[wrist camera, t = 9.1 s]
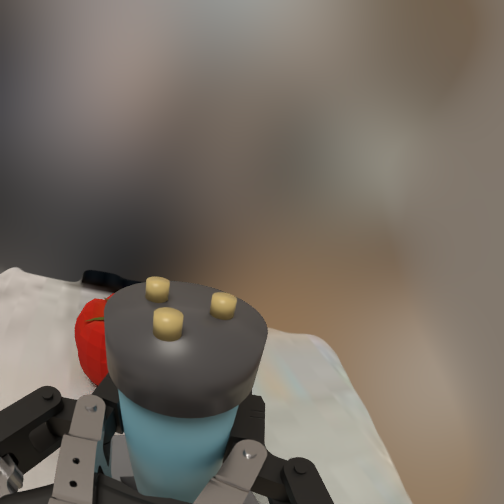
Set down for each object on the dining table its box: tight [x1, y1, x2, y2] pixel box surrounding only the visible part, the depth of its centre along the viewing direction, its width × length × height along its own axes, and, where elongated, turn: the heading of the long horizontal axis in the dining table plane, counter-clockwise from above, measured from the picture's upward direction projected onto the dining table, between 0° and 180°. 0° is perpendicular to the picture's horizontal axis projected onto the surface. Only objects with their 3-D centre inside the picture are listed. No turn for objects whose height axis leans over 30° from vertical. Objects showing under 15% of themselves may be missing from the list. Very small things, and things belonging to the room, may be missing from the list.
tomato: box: [75, 293, 115, 385], centre depth 32 cm, size 14×13×10 cm
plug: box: [104, 277, 268, 503], centre depth 10 cm, size 5×5×14 cm
